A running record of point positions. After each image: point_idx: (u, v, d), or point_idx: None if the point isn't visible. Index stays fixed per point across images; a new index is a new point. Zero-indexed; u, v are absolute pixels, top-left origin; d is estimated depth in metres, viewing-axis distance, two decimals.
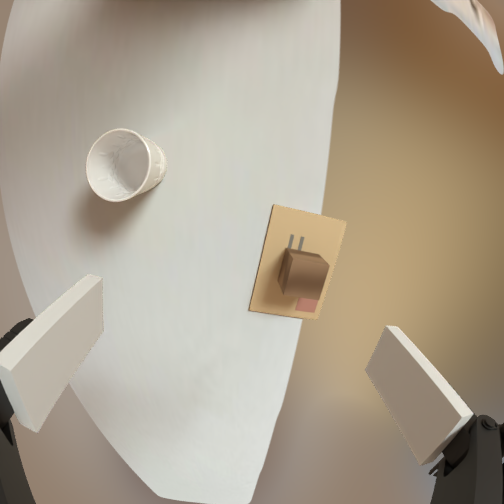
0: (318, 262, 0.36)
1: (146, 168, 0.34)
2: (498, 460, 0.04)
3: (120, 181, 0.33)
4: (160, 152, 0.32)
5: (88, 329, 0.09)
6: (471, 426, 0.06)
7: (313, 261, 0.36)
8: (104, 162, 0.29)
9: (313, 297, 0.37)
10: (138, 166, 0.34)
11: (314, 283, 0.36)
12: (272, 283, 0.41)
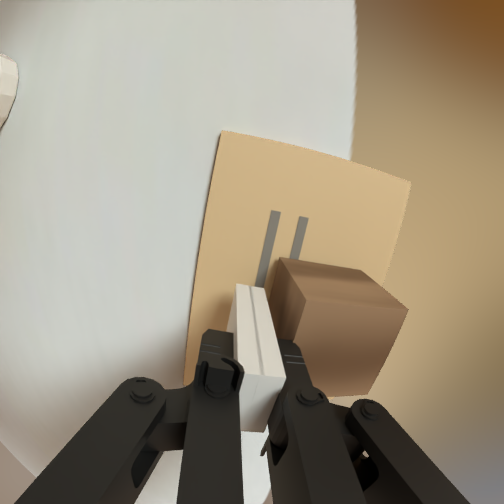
0: (378, 303, 0.11)
1: None
2: (340, 442, 0.06)
3: None
4: None
5: None
6: None
7: (365, 302, 0.11)
8: None
9: (355, 391, 0.12)
10: None
11: (362, 361, 0.11)
12: None
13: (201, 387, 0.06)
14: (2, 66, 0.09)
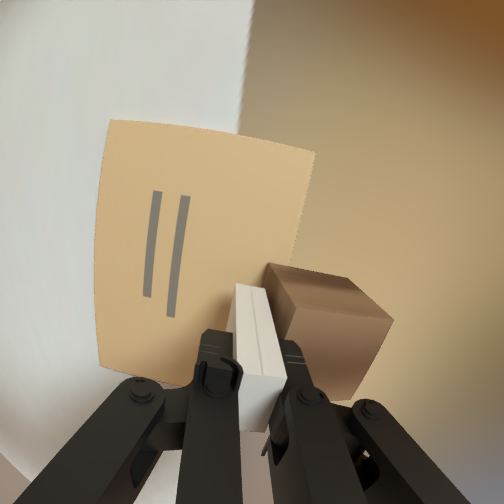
0: (365, 312, 0.11)
1: None
2: (341, 442, 0.06)
3: None
4: None
5: None
6: None
7: (352, 311, 0.11)
8: None
9: (338, 396, 0.12)
10: None
11: (347, 368, 0.12)
12: (129, 316, 0.16)
13: (200, 387, 0.06)
14: None
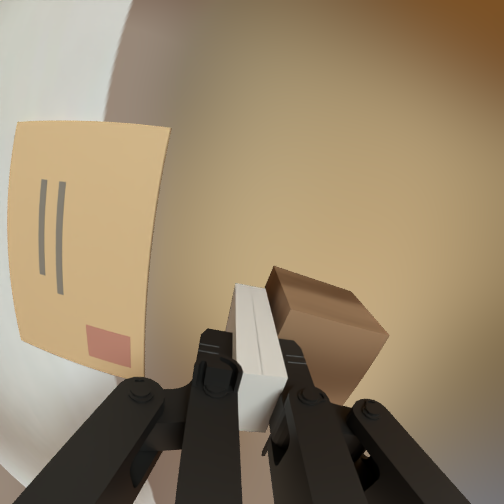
0: (361, 324, 0.11)
1: None
2: (341, 442, 0.06)
3: None
4: None
5: None
6: None
7: (348, 321, 0.11)
8: None
9: None
10: None
11: (337, 379, 0.12)
12: (33, 292, 0.15)
13: (199, 387, 0.06)
14: None
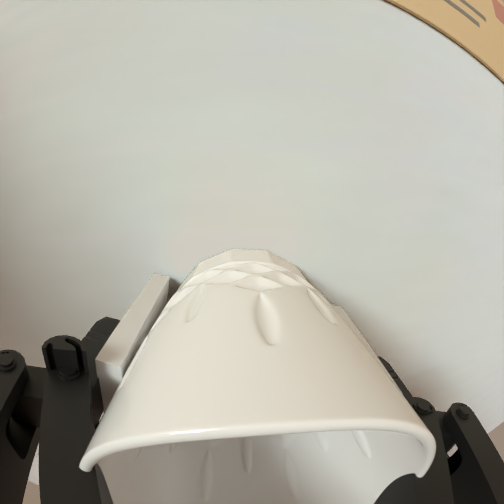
0: None
1: None
2: (440, 447, 0.05)
3: None
4: (205, 277, 0.09)
5: None
6: None
7: None
8: (233, 460, 0.09)
9: None
10: None
11: None
12: (494, 48, 0.09)
13: (53, 371, 0.05)
14: (217, 264, 0.10)
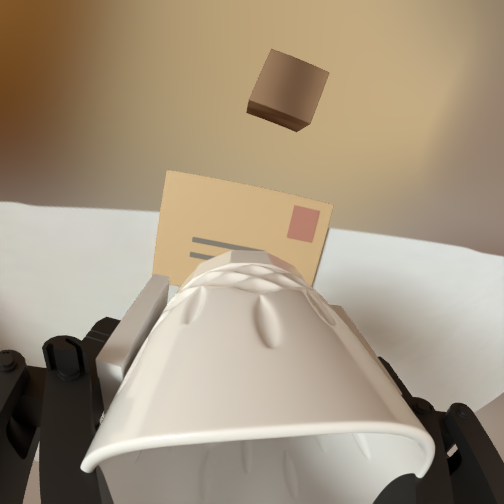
0: None
1: None
2: (440, 446, 0.05)
3: None
4: (205, 279, 0.09)
5: None
6: None
7: (261, 71, 0.19)
8: (233, 461, 0.09)
9: (323, 79, 0.19)
10: None
11: (299, 74, 0.19)
12: None
13: (53, 371, 0.05)
14: (217, 266, 0.10)
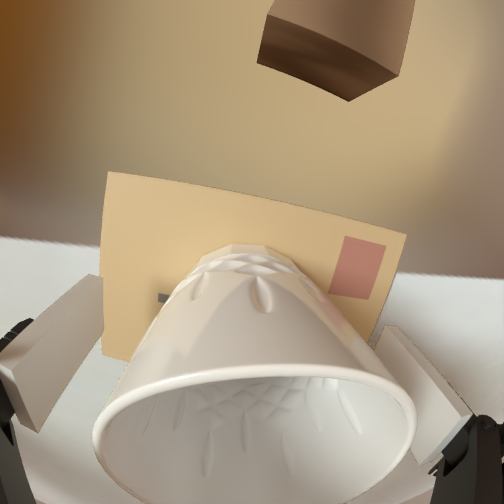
0: None
1: None
2: (498, 459, 0.04)
3: (287, 379, 0.12)
4: (208, 267, 0.10)
5: (89, 329, 0.10)
6: (470, 426, 0.06)
7: None
8: (232, 441, 0.09)
9: (407, 5, 0.06)
10: None
11: None
12: None
13: None
14: (219, 257, 0.12)
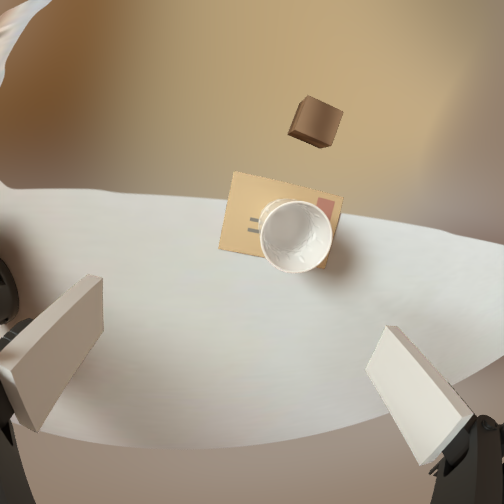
0: (303, 105, 0.31)
1: (287, 218, 0.37)
2: (498, 460, 0.04)
3: (299, 244, 0.37)
4: (275, 201, 0.35)
5: (88, 329, 0.09)
6: (471, 426, 0.06)
7: (301, 110, 0.31)
8: (283, 258, 0.34)
9: (339, 116, 0.31)
10: (285, 226, 0.38)
11: (324, 113, 0.31)
12: None
13: None
14: None
